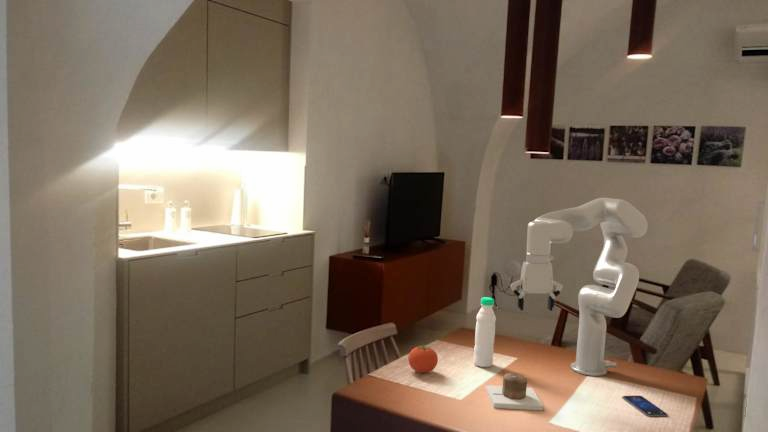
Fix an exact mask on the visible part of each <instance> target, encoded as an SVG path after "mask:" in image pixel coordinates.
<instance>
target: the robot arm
mask: <svg viewBox="0 0 768 432" xmlns="http://www.w3.org/2000/svg"><path fill="white" fill-rule="evenodd" d="M598 225H600V228H601V233H602V236H603V247H602V250H601V252H600V255H599V257H598V259H597V261H596V264H595V266H594V269H593V272H592V277H593V278H592V279H593V280H594V281H595V282H597V283H599V284H601V285H604V286H601V285H596V284H587V285H583V287H581V288H580V290H579V292H578V296H577V297H578V298H577V299H578V302H577V303H578V309H579V315H578V318H579V320H578V332H577V342H576V353H575V361H573V362H571V364H570V368H571V369H572V371H574V372H576V373H579V374H581V375H584V376H585V375H586V376H592V377H601V376H605V375H607V373H608V370H607V369H608V368H613V369H616V368H617V366H618V365H617V362H614V361H613V362H612V361H611V360H605V359H604V358H605V357H604V356H605V346H606V335H607V320H606V317H605V316H607V317H610V318H616V319H617V318H622V317H623V316H625V314H626V312H627V311H628V309H629V307H630V304H631V302H632V299H633V297H634V295H635V292H636V290H637V287H638V285H639V280H640V271H639V270H638V267H637V266H636V265H634V264H632V263H629V262H625V261H626V257H627V255H628V245H627V243H626V241H625V239H624V237H628V238H635V239H636V238H641V237H643V236H644V235H645V234H647V233H646V232H647V231H648V220H647V218H646V217H645V216H644V214H643V213H642V212H641V211H640V210H638V208H636V207H635V206H634V205H633V204H631V203H630V202H629V201H627V200H624V199H622V198H621V199H620V198H609V197H599V198H595V199H593V200H590V201H588V202H586V203H584V204H582V205H578V206H576V207H569V208H564V209H559V210H555V211H551V212H547V213H544V214H542V215H540V216H538V217H536V218H534V220H533V221H530V222H528V224H527V230H526V231H527V232H526V233H527V237H526V253H525V254H526V255H525V261H523V262H522V267H521V273H520V278H519V279H518V280H516V281H514V282H512V283H510V284H509V286H510V288H511V290H512V292H513V293H514V295H516V296H517V308H518V309H519V310H520V311H524V301H525V299H524V296H525V295H526V294H547V295H549V296H548V297H547V309H548V310H549V311H550V312H551V311H552V312H553V308H555V299H557V297H558V296H559V295H560V294H561V292H562V290H563V289H564V285H563V284H561V283H559V282H558V281H555V280H554V274H553V273H554V272H553V266H552V263H551V261H552V260H555V255H552V254H551V245H552V243H554V244H562V243H568V242H569V241H570V240H571V239H572V238H573V234H574V232H579V231H580V232H581V231H587V230H589V229H591V228H594V227H596V226H598ZM518 286H519V289H520V290H519V291H518V290H517V287H518ZM554 286H555V287H556V289H555V290H554V291H553V289H554ZM605 286H608V287H612V288H614V289H612V288H608V287H605Z"/></svg>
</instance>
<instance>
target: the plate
mask: <svg viewBox="0 0 768 432" xmlns="http://www.w3.org/2000/svg"><path fill="white" fill-rule="evenodd" d="M502 388H503V385H485V391H487V392H486V394H487V396H488V399H489V401H490V403H491V405H492V407H493V409H507V410H508V409H510V410H528V411H529V410H531V411H532V410H533V411H543V410H544V405H543V403H542V401H541V399H540V398H539V396H538V394H536V392H535V390H534V389H533V387H527V388H526V398H523V399H521V400H518V399H510V398H508V397H505V396H504V395H503V393H502Z"/></svg>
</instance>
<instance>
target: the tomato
mask: <svg viewBox="0 0 768 432" xmlns="http://www.w3.org/2000/svg"><path fill="white" fill-rule="evenodd" d="M438 359H439V358H438V354H437V353H436V351H435V350H434V349H433V348H432V347H430V346H427V345H426V346H425V344H423V345H419V346H415V347H414V348H413V349H411V351H410V352H409V354H408V363H409V366H410V367H411V368H412V370H413V371H414V372H417V373H418V374H419V373H420V374H427V373H430V372H432V371H433V370H435V368H436V366H437V365H438V363H439V362H438Z"/></svg>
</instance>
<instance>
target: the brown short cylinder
mask: <svg viewBox="0 0 768 432" xmlns="http://www.w3.org/2000/svg"><path fill="white" fill-rule="evenodd" d="M502 386H503V388H502V393H503V395H504V396H505V397H508V398H510V399H518V400H521V399H523V398H526V388H528V387H527V386H528V382H527V377H526V376H525V375H523V374H520V373H514V372H512V373H511V372H509V373H505V374H504V376H503V380H502Z"/></svg>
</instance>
